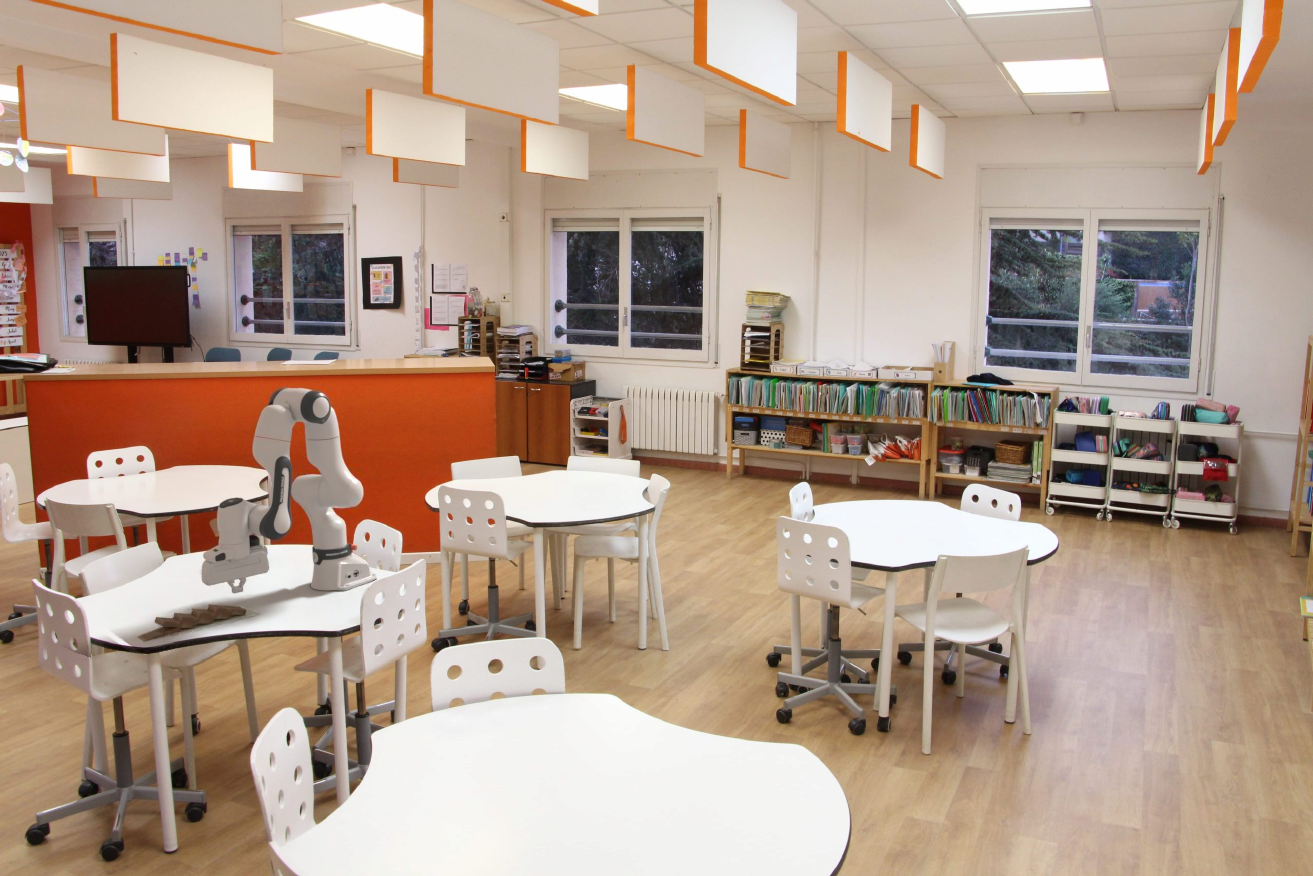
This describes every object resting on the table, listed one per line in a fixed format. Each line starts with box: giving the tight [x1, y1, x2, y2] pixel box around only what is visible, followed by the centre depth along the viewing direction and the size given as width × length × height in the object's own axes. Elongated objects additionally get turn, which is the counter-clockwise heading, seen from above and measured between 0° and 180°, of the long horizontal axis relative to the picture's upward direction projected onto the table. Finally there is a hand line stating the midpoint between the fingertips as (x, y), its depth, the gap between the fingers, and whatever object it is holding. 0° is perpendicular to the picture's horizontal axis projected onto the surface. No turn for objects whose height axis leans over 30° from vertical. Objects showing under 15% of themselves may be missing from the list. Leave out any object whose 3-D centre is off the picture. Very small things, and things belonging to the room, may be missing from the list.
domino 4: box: [207, 603, 246, 615], centre depth 304 cm, size 2×5×10 cm
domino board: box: [179, 606, 260, 635], centre depth 302 cm, size 24×9×1 cm, turn 137°
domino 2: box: [172, 612, 213, 624], centre depth 296 cm, size 2×5×10 cm
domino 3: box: [190, 608, 231, 619], centre depth 300 cm, size 2×5×10 cm
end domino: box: [137, 626, 180, 643], centre depth 289 cm, size 2×5×10 cm
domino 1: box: [154, 616, 196, 628], centre depth 292 cm, size 2×5×10 cm
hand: (237, 592), depth 306 cm, fingers closed
